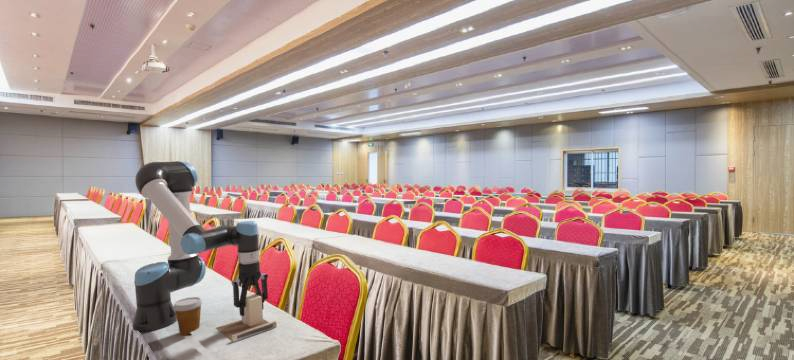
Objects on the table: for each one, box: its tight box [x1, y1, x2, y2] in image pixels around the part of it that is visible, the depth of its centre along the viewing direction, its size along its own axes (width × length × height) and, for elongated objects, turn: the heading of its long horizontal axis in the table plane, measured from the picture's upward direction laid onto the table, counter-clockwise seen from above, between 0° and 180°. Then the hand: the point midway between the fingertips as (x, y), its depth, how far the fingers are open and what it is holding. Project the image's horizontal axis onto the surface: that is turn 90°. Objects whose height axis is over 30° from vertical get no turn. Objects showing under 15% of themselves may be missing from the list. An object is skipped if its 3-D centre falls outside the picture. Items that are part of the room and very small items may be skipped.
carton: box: [240, 291, 264, 327], centre depth 150 cm, size 8×5×10 cm, turn 44°
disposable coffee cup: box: [173, 296, 203, 337], centre depth 146 cm, size 10×10×12 cm
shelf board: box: [215, 318, 278, 343], centre depth 145 cm, size 17×16×4 cm
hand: (252, 320), depth 151 cm, fingers closed on carton, 5 cm apart
